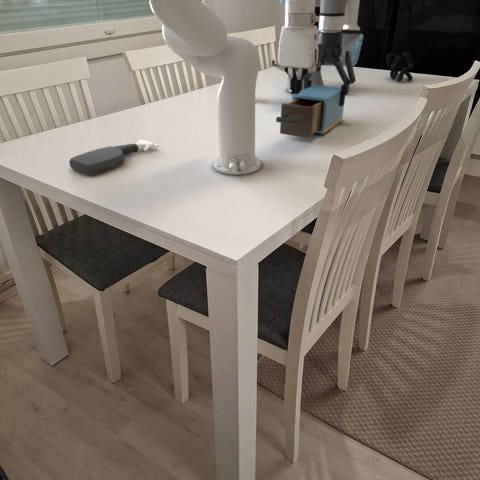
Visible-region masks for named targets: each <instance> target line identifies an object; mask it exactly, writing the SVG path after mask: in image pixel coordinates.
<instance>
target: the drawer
mask: <svg viewBox="0 0 480 480" xmlns="http://www.w3.org/2000/svg"><path fill="white" fill-rule="evenodd" d="M280 106H281V107H280V109H281V110H280V116H276V119H275V122H276V123H279V124H280V125H279V126H280V127H279V134H281V135H286V136H294V137H300V138H305V139H312V138H313V134H316V133H315V132H316V131H318V130H319V129H321V128H322V118H323V108H324V101H318V100H310V99H301V98H298V99H296V100H294V101H292V100H291V101H289V102H287V103H284V102H282V103H281V105H280Z"/></svg>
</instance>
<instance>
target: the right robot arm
mask: <svg viewBox="0 0 480 480" xmlns="http://www.w3.org/2000/svg"><path fill="white" fill-rule="evenodd" d="M279 3H280V5H281V6H283V7H285V0H279ZM316 7H317V8H319V22H318V28H317V31H318V63H317V64H316V71H315V72H313V73H307V74H306V75H305V76H304V77H303V82H302V90H304V89H306V88H308V87H310V86H313V85H321V86H325V85H324V80H323V75H322V66H327V67H329V66H331V67H335V69H336V71H337V73H338V75H339V78H340V79H341V81H342V83H343V84H341V87H340V88H341V95H340V105H339V106H343V105H344V106H345V100H346V96H348V95H349V91H350V85H353V84H354V83H355V82H356V81H357V79H356V74H355V71H354V66H355V65H357V63H358V61H359V57H360V53H361V49H362V46H363V40H364V34H363V33H361V28H360V26H359V25H358V18H359V9H360V0H315V8H316ZM275 62H276V60H275V59H273V60H272V61H271V65H272V66H274V67H277V68H278V66H279V64H276V63H275ZM344 67H346V70H345V68H344ZM296 73H298V68H297V67H296ZM302 90H301V91H302ZM286 91H287V92H288V93H289V94H291V90H290V78H289V77H288V83H287V86H286Z"/></svg>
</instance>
